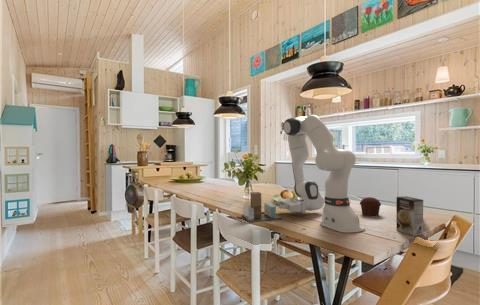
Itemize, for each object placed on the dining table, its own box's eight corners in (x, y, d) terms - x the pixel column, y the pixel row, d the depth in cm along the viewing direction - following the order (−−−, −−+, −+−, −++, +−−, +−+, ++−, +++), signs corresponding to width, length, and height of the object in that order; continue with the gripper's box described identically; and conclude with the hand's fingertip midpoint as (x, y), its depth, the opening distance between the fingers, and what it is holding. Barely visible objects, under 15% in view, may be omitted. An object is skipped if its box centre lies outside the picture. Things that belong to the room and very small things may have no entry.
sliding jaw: (275, 217, 151) (275, 206, 151) (270, 218, 151) (270, 206, 151) (268, 212, 163) (268, 202, 163) (264, 213, 162) (263, 202, 162)
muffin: (367, 217, 151) (367, 200, 151) (355, 213, 162) (355, 196, 162) (385, 216, 154) (385, 199, 154) (372, 211, 165) (372, 195, 165)
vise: (282, 219, 150) (282, 207, 150) (248, 222, 146) (248, 209, 146) (272, 212, 166) (272, 201, 166) (241, 215, 161) (241, 203, 161)
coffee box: (395, 230, 128) (395, 196, 128) (405, 228, 130) (405, 195, 130) (413, 236, 119) (413, 200, 119) (423, 234, 121) (423, 199, 121)
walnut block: (261, 217, 153) (261, 193, 153) (253, 218, 152) (252, 193, 152) (258, 215, 158) (258, 191, 158) (250, 216, 157) (250, 192, 156)
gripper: (290, 195, 171) (270, 197, 168) (306, 202, 151) (283, 203, 148) (291, 205, 171) (270, 207, 168) (306, 213, 152) (283, 214, 148)
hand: (276, 205), depth 158 cm, fingers open, 6 cm apart
